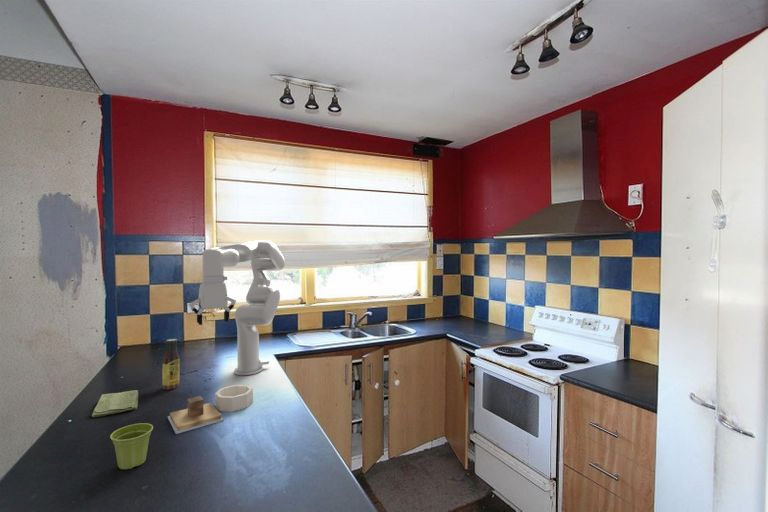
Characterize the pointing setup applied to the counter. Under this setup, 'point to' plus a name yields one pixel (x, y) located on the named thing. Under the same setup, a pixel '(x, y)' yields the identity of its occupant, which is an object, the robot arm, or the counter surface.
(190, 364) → the counter surface
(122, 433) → the plant pot
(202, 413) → the lid
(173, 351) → the sauce bottle
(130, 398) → the washcloth
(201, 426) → the mat
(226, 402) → the bowl
